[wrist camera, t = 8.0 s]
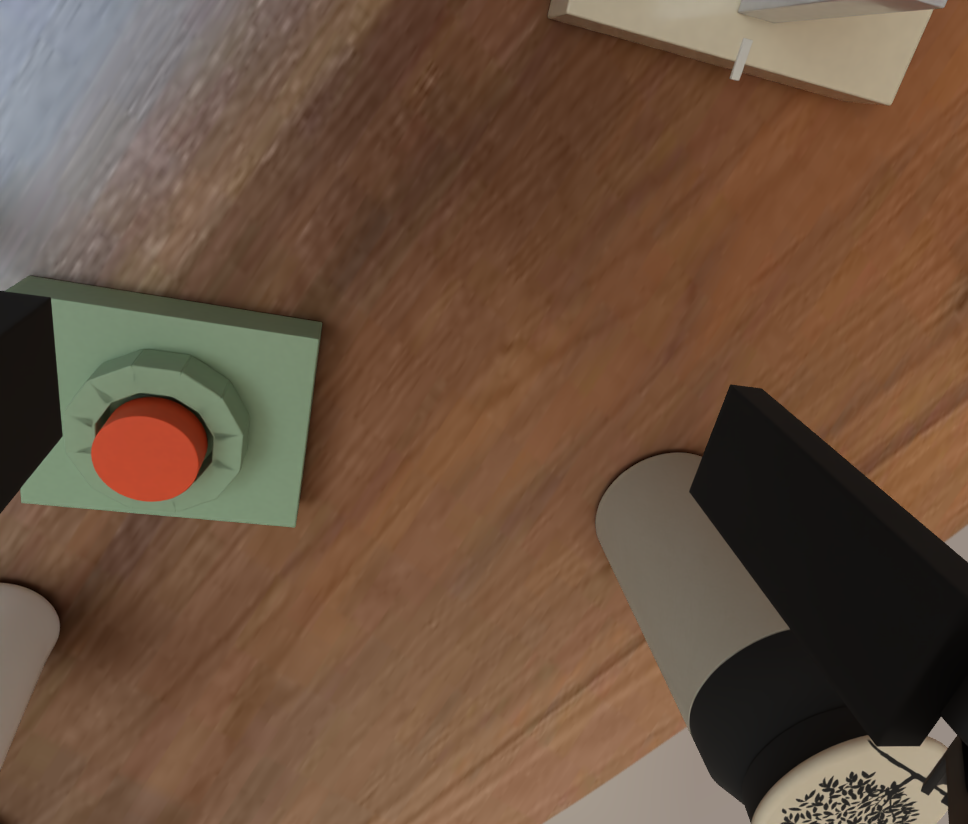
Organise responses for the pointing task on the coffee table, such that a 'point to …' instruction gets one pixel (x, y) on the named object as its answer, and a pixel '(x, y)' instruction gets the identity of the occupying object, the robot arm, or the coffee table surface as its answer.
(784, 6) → the grey flat rectangular block
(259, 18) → the coffee table surface
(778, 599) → the robot arm
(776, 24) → the base
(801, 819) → the travel mug
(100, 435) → the button
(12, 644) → the drinking glass
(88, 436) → the button box
